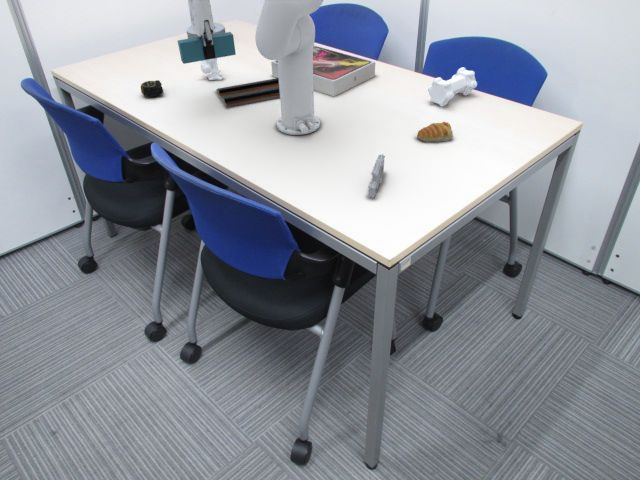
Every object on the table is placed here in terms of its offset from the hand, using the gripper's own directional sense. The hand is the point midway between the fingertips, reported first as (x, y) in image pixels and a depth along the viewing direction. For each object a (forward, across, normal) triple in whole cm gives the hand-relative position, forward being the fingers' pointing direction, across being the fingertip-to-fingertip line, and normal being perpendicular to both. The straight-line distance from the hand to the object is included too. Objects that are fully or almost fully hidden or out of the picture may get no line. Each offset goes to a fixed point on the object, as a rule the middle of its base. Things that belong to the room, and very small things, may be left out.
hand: (208, 56), depth 160 cm
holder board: (+15, -2, +13) cm, 20 cm away
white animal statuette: (+15, -21, +5) cm, 26 cm away
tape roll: (+15, -62, +13) cm, 64 cm away
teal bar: (+1, 0, 0) cm, 1 cm away
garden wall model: (+16, +65, +23) cm, 70 cm away
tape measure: (+15, -16, -16) cm, 27 cm away
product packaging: (+15, -5, +39) cm, 42 cm away
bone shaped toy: (+16, +31, +67) cm, 76 cm away
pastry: (+16, +50, +49) cm, 72 cm away
